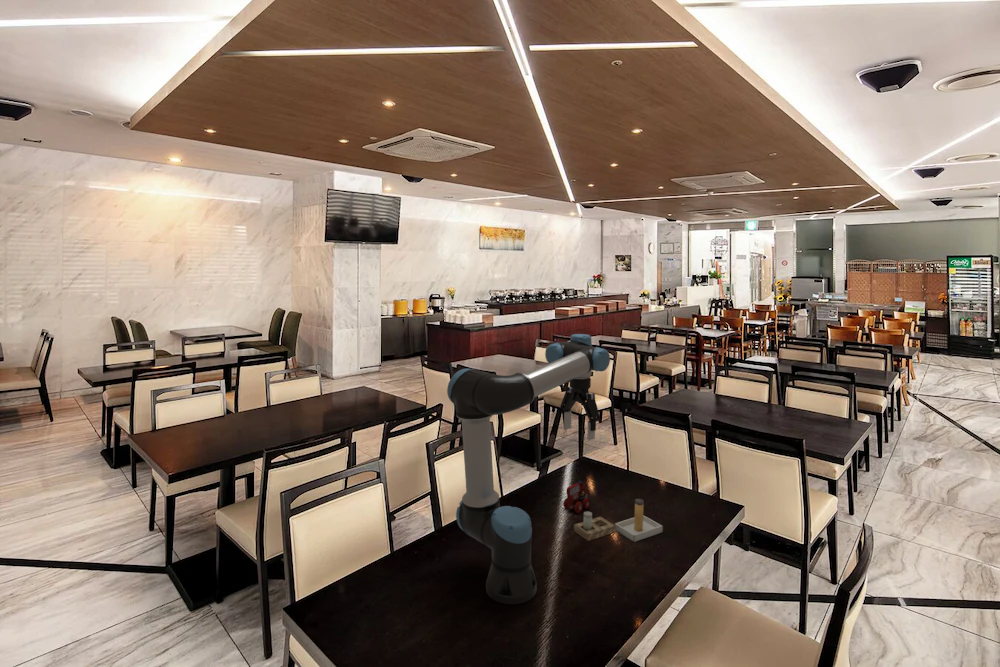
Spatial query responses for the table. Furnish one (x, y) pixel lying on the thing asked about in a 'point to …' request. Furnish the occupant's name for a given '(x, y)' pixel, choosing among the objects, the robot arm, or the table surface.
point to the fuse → (587, 521)
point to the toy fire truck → (577, 497)
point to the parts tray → (628, 531)
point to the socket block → (595, 529)
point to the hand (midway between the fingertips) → (578, 433)
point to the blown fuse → (638, 515)
